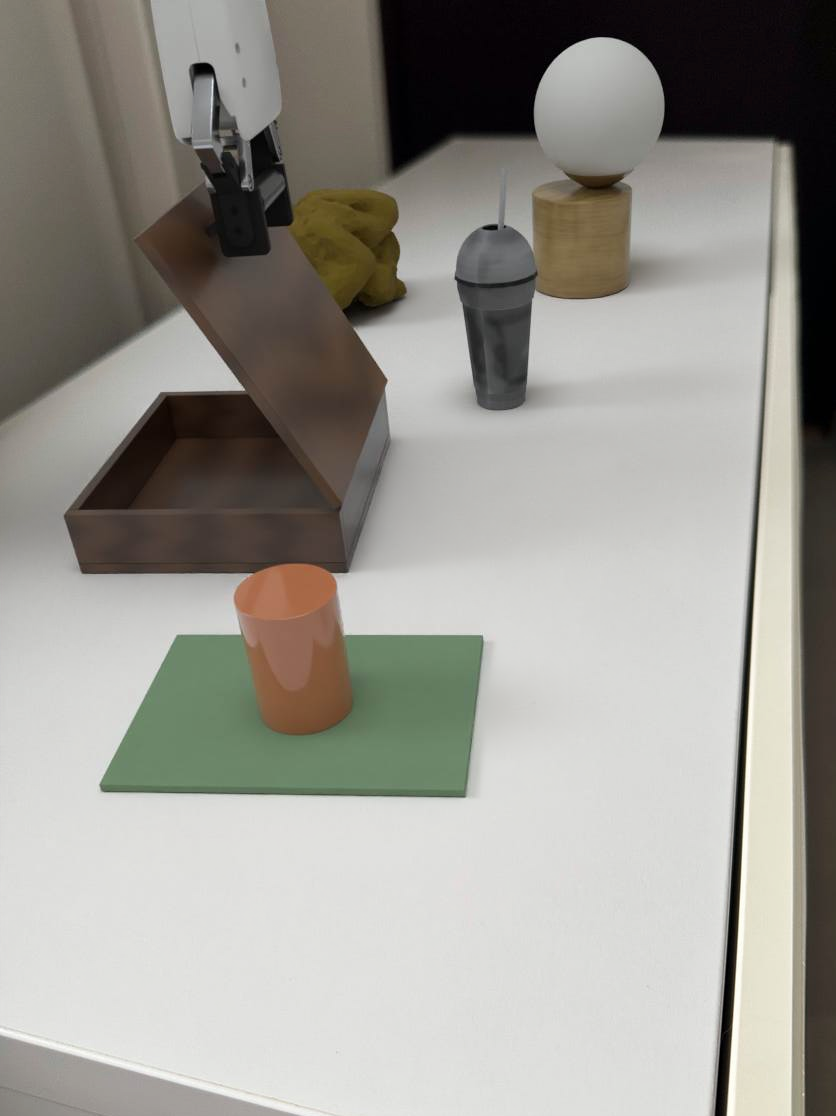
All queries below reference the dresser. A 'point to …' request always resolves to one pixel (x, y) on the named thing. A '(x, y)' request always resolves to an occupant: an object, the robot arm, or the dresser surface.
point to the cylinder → (295, 647)
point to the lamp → (591, 164)
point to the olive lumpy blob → (351, 243)
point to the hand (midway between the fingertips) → (259, 237)
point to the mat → (313, 759)
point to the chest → (216, 494)
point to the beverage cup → (497, 308)
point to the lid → (274, 333)
